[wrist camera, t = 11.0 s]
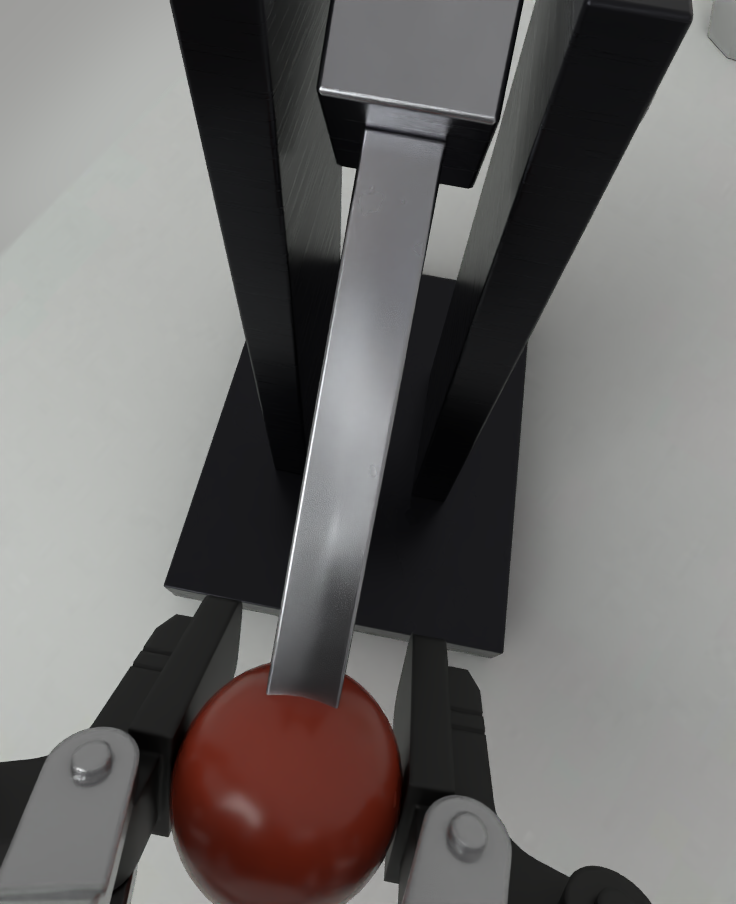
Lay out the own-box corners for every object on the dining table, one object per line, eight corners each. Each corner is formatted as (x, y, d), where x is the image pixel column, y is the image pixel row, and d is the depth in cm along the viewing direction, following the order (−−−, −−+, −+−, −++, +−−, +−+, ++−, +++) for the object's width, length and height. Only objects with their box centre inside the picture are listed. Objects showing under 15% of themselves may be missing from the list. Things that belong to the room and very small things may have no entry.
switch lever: (382, 820, 11) (375, 1026, 8) (199, 782, 11) (108, 969, 8) (546, 31, 9) (639, -185, 6) (327, -6, 9) (285, -243, 6)
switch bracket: (492, 658, 16) (1065, 433, 3) (174, 595, 16) (-358, 170, 4) (521, 315, 21) (798, -277, 9) (279, 271, 21) (204, -369, 9)
